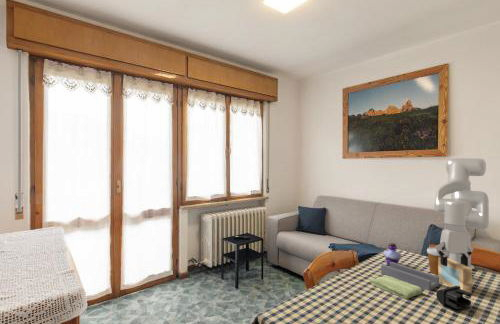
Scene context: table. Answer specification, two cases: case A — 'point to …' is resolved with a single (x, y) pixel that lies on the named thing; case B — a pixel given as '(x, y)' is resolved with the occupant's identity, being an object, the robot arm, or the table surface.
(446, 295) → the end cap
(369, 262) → the table surface
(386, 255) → the potion bottle
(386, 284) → the washcloth
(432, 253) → the disposable coffee cup
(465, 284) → the wooden picture frame
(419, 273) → the picture stand
